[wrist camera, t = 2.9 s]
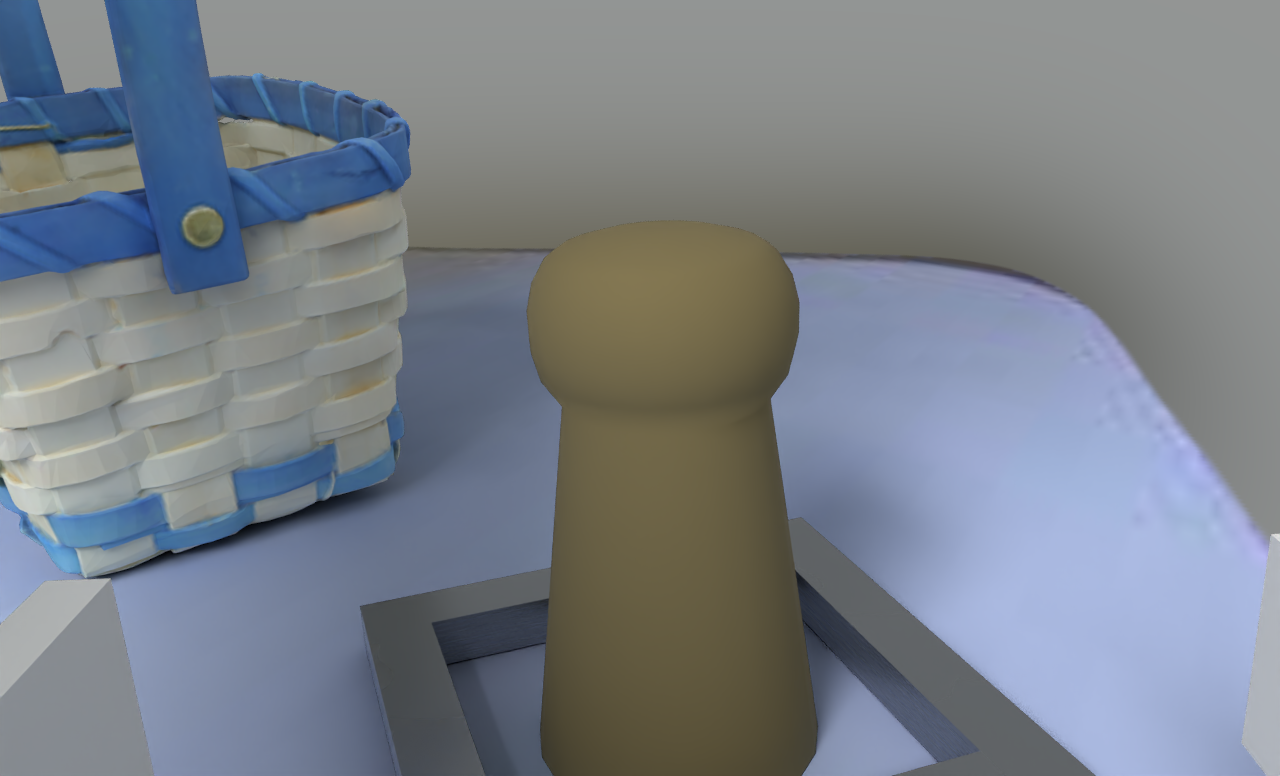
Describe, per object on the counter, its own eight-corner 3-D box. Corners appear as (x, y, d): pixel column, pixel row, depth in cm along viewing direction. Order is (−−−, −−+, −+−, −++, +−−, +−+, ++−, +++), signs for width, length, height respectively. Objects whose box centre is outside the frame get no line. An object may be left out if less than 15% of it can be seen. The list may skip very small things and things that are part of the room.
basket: (-128, 457, 43) (-332, -259, 35) (304, 364, 51) (216, -230, 44) (-92, 729, 27) (-459, -499, 19) (532, 527, 35) (458, -377, 27)
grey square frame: (365, 648, 29) (360, 606, 28) (801, 556, 32) (801, 517, 32) (458, 1033, 18) (450, 973, 18) (1092, 831, 22) (1098, 778, 21)
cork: (713, 868, 21) (697, 284, 18) (480, 749, 25) (427, 244, 21) (868, 707, 26) (881, 214, 22) (652, 626, 29) (632, 191, 26)
